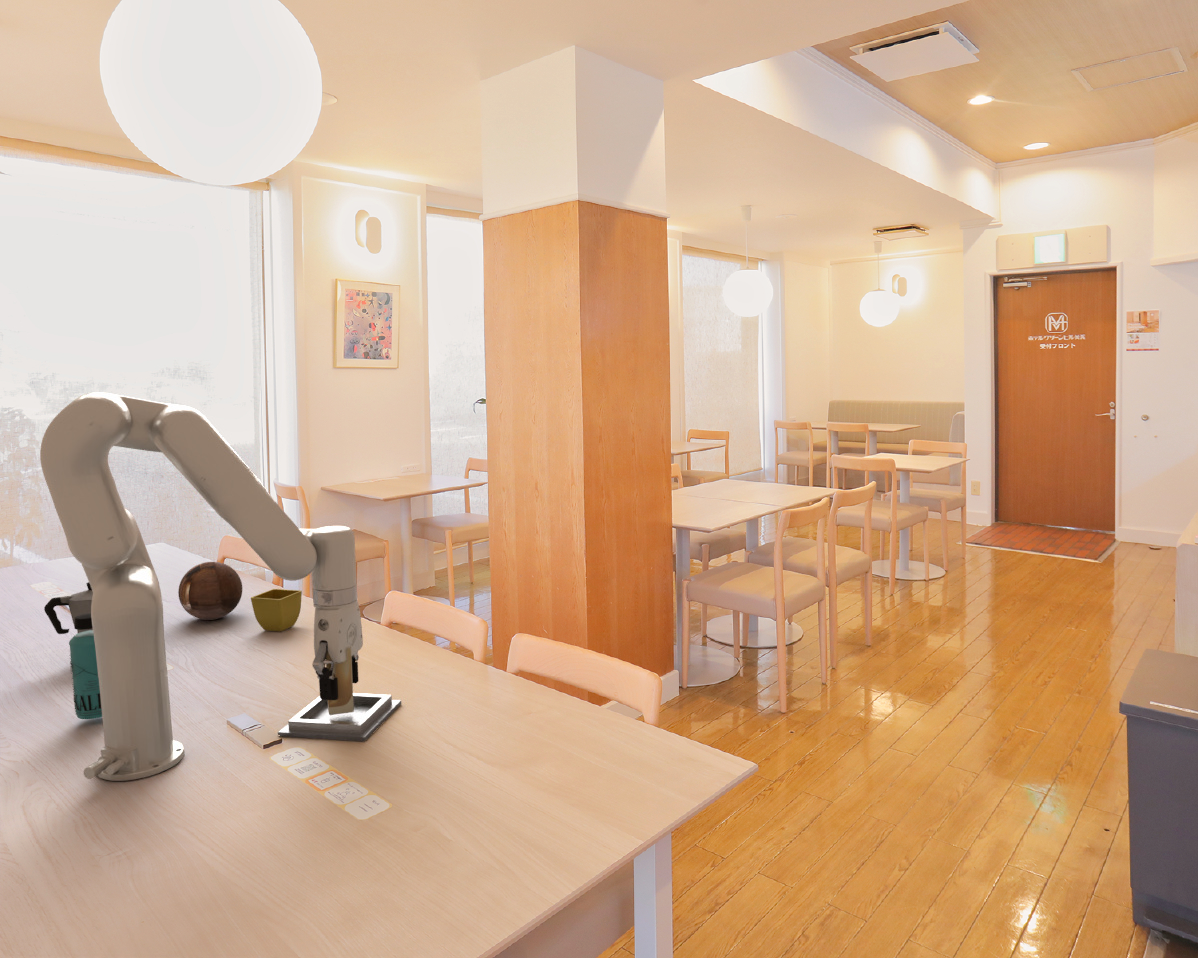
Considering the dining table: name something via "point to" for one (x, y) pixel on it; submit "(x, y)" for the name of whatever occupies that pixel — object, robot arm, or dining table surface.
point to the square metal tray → (341, 719)
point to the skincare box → (342, 687)
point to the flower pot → (277, 609)
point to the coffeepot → (77, 606)
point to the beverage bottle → (85, 670)
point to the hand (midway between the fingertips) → (339, 689)
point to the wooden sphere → (210, 590)
